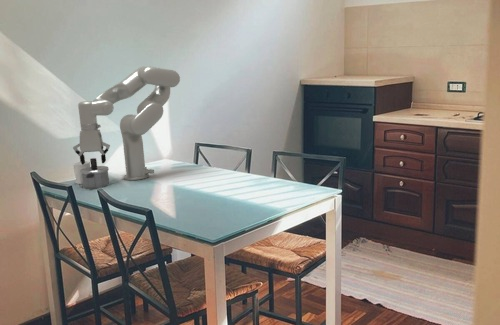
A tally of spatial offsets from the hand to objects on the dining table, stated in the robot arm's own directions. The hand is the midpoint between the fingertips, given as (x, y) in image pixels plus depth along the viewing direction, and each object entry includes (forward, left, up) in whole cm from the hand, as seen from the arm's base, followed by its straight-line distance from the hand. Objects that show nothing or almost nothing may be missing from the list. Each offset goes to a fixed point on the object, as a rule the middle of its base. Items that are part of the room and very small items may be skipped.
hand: (93, 163), depth 256 cm
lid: (0, 0, -5) cm, 5 cm away
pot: (0, 0, -11) cm, 11 cm away
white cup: (+8, -7, -11) cm, 15 cm away
